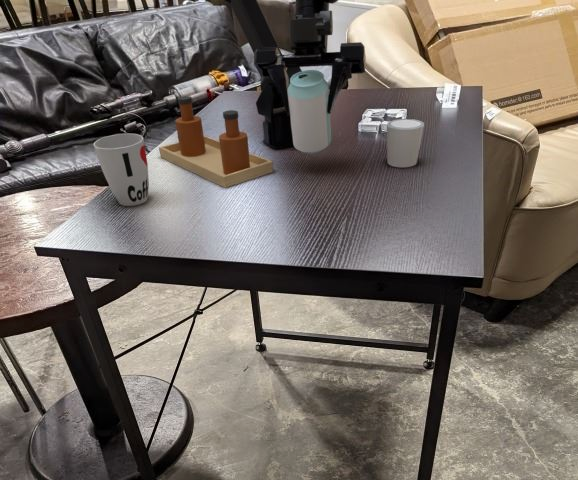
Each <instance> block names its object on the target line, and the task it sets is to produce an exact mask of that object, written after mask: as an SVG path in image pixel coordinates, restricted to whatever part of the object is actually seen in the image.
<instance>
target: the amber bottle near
mask: <svg viewBox="0 0 578 480" xmlns="http://www.w3.org/2000/svg"><path fill="white" fill-rule="evenodd" d="M222 118H223V120H224V126H225V132H223V133H221V134H219V136H218V140H219V142H220V150H221V158H222V165H223V173H224V174H225V175H228V174H231V173H234V172H237V171H240V170H243V169H247V168H250V160H249V152H250V151H249V141H248V134H247V133H246V132H245V131H240V126H239V111H238V110H234V109H233V110H232V109H229V110H226V111H223V112H222Z"/></svg>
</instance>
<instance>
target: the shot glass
mask: <svg viewBox="0 0 578 480" xmlns="http://www.w3.org/2000/svg"><path fill="white" fill-rule="evenodd" d="M424 129H425V122H423V120H419V119H413V118H399V119H392V120H389V121H388V122H387V123H386V157H387V159H386V161H387V164H388V166H391V167H395V168H411V167H414V166H416V165H417V163H418V159H419V155H420V149H421V143H422V140H423V139H422V138H423V133H424Z"/></svg>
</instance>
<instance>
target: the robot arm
mask: <svg viewBox="0 0 578 480" xmlns="http://www.w3.org/2000/svg"><path fill="white" fill-rule="evenodd" d="M224 1H225V2H226V3H228V4H229V5H230V7H231V9H232V11H233V13H234V15H235V18H236V20H237V22H238V23H239V24H238V25H240V28H241V30H242V32H243V34H244V36H245V39H246V40H247V43H248V44H249V47H250V49H251V51H252V53H253V65H254V67H255V69H256V70H257V72H258V74H259V76H260V83H259V85H260V89H261V92H260V94H259V96H258V98H257V100H256V102H255V106H256V110H257V114H258V115H260V116H262V117H264V120H263V122H262V128H263V129H262V130H263V139H262V142H263V143H264V144H265V145H267V146H269V147H270V148H273V150H279V149H283V148H289V147H294V145H293V137H292V128H291V119H290V110H289V101H288V92H287V90H288V87H289V85H290V79H291V77H292V76H293V75H294V74H296V73H298V72H301V71H303V70H302V68H308V67H329V66H331V77H330V84H329V85H330V86H329V98H328V114H330V115H331V114H332V111H333V108H334V107H335V103H336V102H337V99H338V96H339V94H340V92H341V90H342V88H343V86H344V85H345V82H346V81H347V80H351V79H352V78H353V75H357V74H358V75H359V74H364V73H365V72H366V59H367V58H366V49H365V48H366V47H365V45H364V44H363V42H361V41H357V42H341V43H340V46H339V48H340V49H339V51H330V52H329V51H328V43H329V42H328V41H329V40H328V39H329V36H332V35H333V31H334V28H333V27H334V23H333V22H334V21H333V20H334V19H333V11H332V10H330V4H335V3H337V2H338V1H339V0H295V5H294V7H295V9H294V10H295V11H294V12H295V13H294V18H290V19H288V37H289V39H288V43H289V44H290V50H291V51H293V53H290V54H289V53H287V54H283V53H282V51H281V49H280V46H279V44H278V42H277V40H276V38H275V36H274V34H273V32H272V30H271V27H270V26H269V23H268V21H267V19H266V16H265V15H264V13H263V11H262V8H261V6H260V5H259V2H258V0H224Z"/></svg>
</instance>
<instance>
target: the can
mask: <svg viewBox="0 0 578 480" xmlns="http://www.w3.org/2000/svg"><path fill="white" fill-rule="evenodd" d="M329 91H330V86H329V84H328V82H327V81H326V79H325V74H324V73H323V72H321V71H319V70H315V69H306V70H302V71H301V72H298V73H296V74H294V75H293V76H292V77H291V79H290V85H289V87H288V90H287V92H288V101H289V110H290V119H291V128H292V137H293V145H294V146H293V147H294V148H295V149H296V150H297V151H299V152H302V153H304V154H317V153H319V152H323V151H324V150H325V149H327V148H328V147H329V146H330V144H331V143H332V130H331V129H332V127H331V114H328V98H329Z"/></svg>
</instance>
